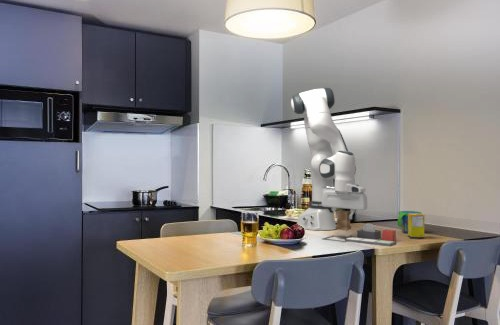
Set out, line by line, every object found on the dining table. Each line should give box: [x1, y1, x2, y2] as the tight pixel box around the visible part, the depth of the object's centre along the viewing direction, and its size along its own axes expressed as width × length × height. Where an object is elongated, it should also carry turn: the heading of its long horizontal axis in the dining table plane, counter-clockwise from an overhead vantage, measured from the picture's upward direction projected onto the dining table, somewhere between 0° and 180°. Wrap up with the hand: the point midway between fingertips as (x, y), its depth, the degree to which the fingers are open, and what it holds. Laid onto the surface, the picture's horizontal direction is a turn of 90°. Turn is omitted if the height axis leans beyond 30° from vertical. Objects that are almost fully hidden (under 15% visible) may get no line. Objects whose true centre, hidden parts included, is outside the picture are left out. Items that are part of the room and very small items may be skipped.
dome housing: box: [356, 228, 382, 240], centre depth 203 cm, size 8×8×4 cm
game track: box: [344, 236, 397, 247], centre depth 193 cm, size 20×8×1 cm, turn 54°
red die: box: [381, 228, 397, 242], centre depth 198 cm, size 4×4×5 cm
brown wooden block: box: [335, 209, 352, 231], centre depth 202 cm, size 5×5×8 cm
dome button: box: [362, 222, 376, 232], centre depth 203 cm, size 5×5×6 cm
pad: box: [321, 235, 351, 243], centre depth 201 cm, size 11×11×1 cm
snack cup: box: [397, 210, 423, 234], centre depth 223 cm, size 16×10×10 cm
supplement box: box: [407, 212, 425, 240], centre depth 207 cm, size 6×6×11 cm
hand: (343, 218), depth 202 cm, fingers closed on brown wooden block, 4 cm apart
